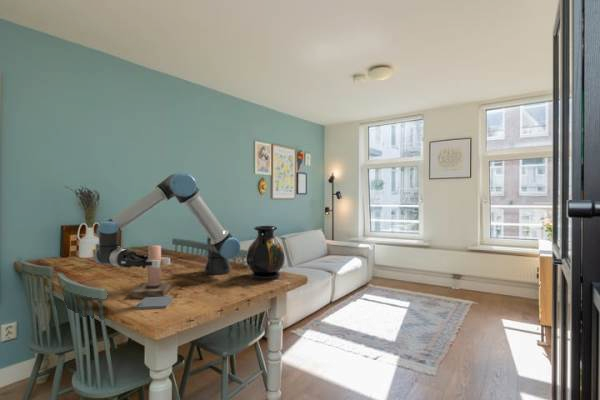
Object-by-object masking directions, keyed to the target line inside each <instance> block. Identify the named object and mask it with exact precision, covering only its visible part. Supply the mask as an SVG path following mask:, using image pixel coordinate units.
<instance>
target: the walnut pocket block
mask: <svg viewBox="0 0 600 400" xmlns="http://www.w3.org/2000/svg"><path fill="white" fill-rule="evenodd" d="M172 289H173V282H172V281H167V282H166V281H164V282H163V281H161V284H160V285H157V286H148V282H141V283H140V284H139V285H137V286H136V287H134V288H133V289H132V290H131V291H130V292H129V299H144V298H145V297H166V295H167V294H168V293H169V292H170V291H171V290H172Z"/></svg>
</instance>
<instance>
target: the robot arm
mask: <svg viewBox="0 0 600 400" xmlns="http://www.w3.org/2000/svg"><path fill="white" fill-rule="evenodd" d="M200 193H201V192H200V189H199V188H198V186H197V181H196V179H195V178H194V177H193V176H192V175H191V174H189V173H185V172H177V173H174V174H170V175H169V176H167V177H166V178H165V179H164V180H162V181H161V182H160V183H158V184H157V185H155V187H154V189H153V190H151V191H150V192H148V193H147V194H145V195H144V196H142V197H141V198H140V199H138V200H137V201H135V202H133V203H132V204H131V205H129V206H127V207H125V208H124V209H123V210H121V211H120V212H118V213H117V214H115V215H114V216H112V217H111V218H109V219H108V220H107V221H101V222H99V224H98V226H96V229H95V233H96V236H97V237H98V248H97V249H96V250H95V251H94V253H93V255H92V256H93V260H94V262H96V263H97V264H100V265H104V266H106V265H107V266H114V267H118V268H121V267H122V268H132V267H136V268H140V267H142V269H145V268H146V267H147V268H148V267H156V268H159V267H160V261H158V260H149V259H148V253H145V254H140V253H137V252H136V251H134V250H132V249H126V248H125V249H124V248H119V232H121V231H123V230H124V229H125V228H127V227H128V226H130V225H131V224H133V223H134V222H136V221H137V220H138V219H140V218H141V217H143V216H144V215H146V214H147V213H149V212H150V211H152V210H153V209H155V207H157V206H159V205H160V204H162V203H163V202H167V201H169V200H171V199H172V198H175V199H176V200H177V201H178V203H179V204H182V205H185V206H186V207H187V210H189V212H190V214H192V216H193V217H194V219H195V220H196V221H197V223H198V224H199V225H200V227H201V228H202V229H203V230H204V232H205V234H206V235H207V237H206V244H207V245H206V249H207V251H206V253H207V255H206V257H207V259H206V262H205V264H204V265H205V266H204V269H203V271H204V272H203V273H205V275H212V276H213V275H214V276H215V275H225V274H227V273H230V272H231V265H230V262H229V260H232V259H234V258H235V257H237V256H238V255H239V254H240V252H241V251H240V250H241V244H240V241H239V239H237V238H235V237H233V235H232V234H231V232H230V231H229V230H228V229H224V227H223V225H221V223H220V222H219V221H218V219H217V217H216V216H215V215H214V214H213V212H212V211H211V209H210V208H209V206H207V204H206V203H205V201H204V200H203V198H202V197H201V196H200ZM161 265H167V266H169V265H171V257H163V255H161Z"/></svg>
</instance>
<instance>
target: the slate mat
mask: <svg viewBox="0 0 600 400" xmlns="http://www.w3.org/2000/svg"><path fill="white" fill-rule="evenodd" d="M174 298H175V296H174V295H173V296H172V295H171V296H170V295H169V296H168V295H167V296H166V295H165V296H164V297H145V298H142V300H141V301H140V302H138V303H137V305H135V306H134V310H153V309H154V310H155V309H156V310H157V309H159V310H160V309H167V306H168V307H169V305H170V304H171V303H172V302H173V300H174Z"/></svg>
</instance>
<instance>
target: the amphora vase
mask: <svg viewBox="0 0 600 400" xmlns="http://www.w3.org/2000/svg"><path fill="white" fill-rule="evenodd" d="M253 230H255V231H256V232H257V236H256V238H255V239H254V240H253V242H252V243H251V244H250V245H249V247H248V248H247V252H246V257H245V263H246V266H247V267H248V269H249V270H250V271H251V273H250V277H251V279H254V280H259V281H270V280H276V279H278V278H280V276H281V273H280V271H281V269H282V268H283V267H284V264H285V261H286V260H285V259H286V255H285V251H284V248H283V247H282V244H281V243H280V242H279V241H278V240H277V239H276V238H275V236H274V235H275V234H274V232H275V231H276V230H278V227H277V226H274V225H258V226H254V227H253Z"/></svg>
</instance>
